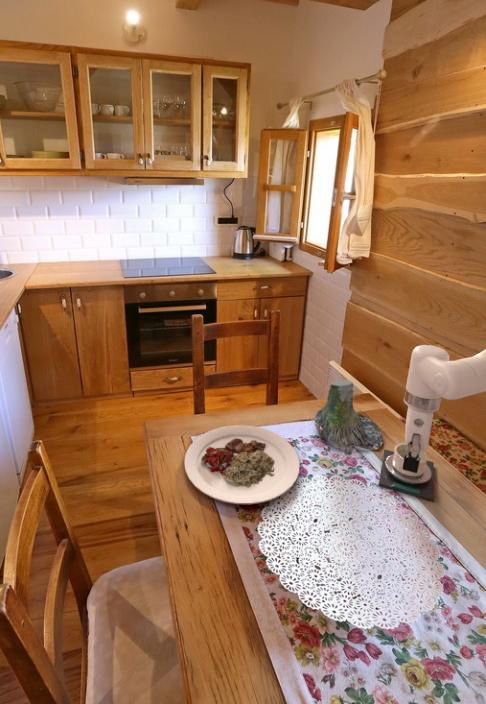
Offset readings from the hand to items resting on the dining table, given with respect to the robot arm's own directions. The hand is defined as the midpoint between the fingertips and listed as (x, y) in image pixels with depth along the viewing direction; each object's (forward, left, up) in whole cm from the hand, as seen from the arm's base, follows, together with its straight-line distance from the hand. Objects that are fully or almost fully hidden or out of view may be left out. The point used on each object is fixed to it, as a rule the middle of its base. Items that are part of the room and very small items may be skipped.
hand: (410, 458), depth 100 cm
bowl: (0, 0, -3) cm, 3 cm away
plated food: (+40, +13, -7) cm, 42 cm away
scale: (0, 0, -6) cm, 6 cm away
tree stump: (+17, -13, -7) cm, 23 cm away
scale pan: (0, 0, -4) cm, 4 cm away
